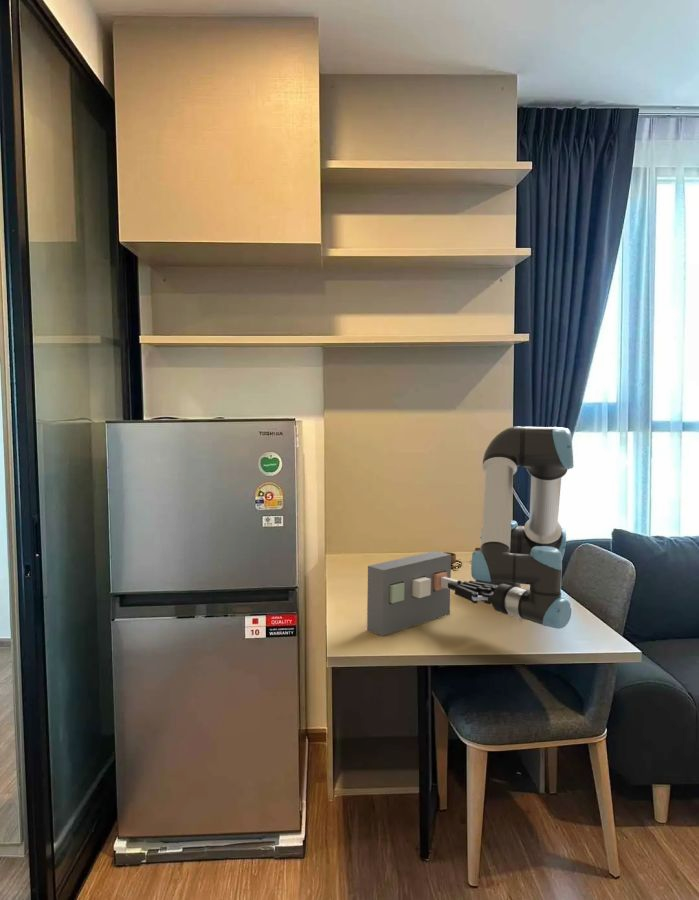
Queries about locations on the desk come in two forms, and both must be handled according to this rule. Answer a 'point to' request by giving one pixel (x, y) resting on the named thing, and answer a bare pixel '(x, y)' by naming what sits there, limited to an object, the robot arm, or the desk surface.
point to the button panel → (406, 593)
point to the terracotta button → (438, 580)
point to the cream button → (421, 587)
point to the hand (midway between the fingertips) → (442, 581)
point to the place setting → (453, 560)
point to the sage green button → (396, 592)
